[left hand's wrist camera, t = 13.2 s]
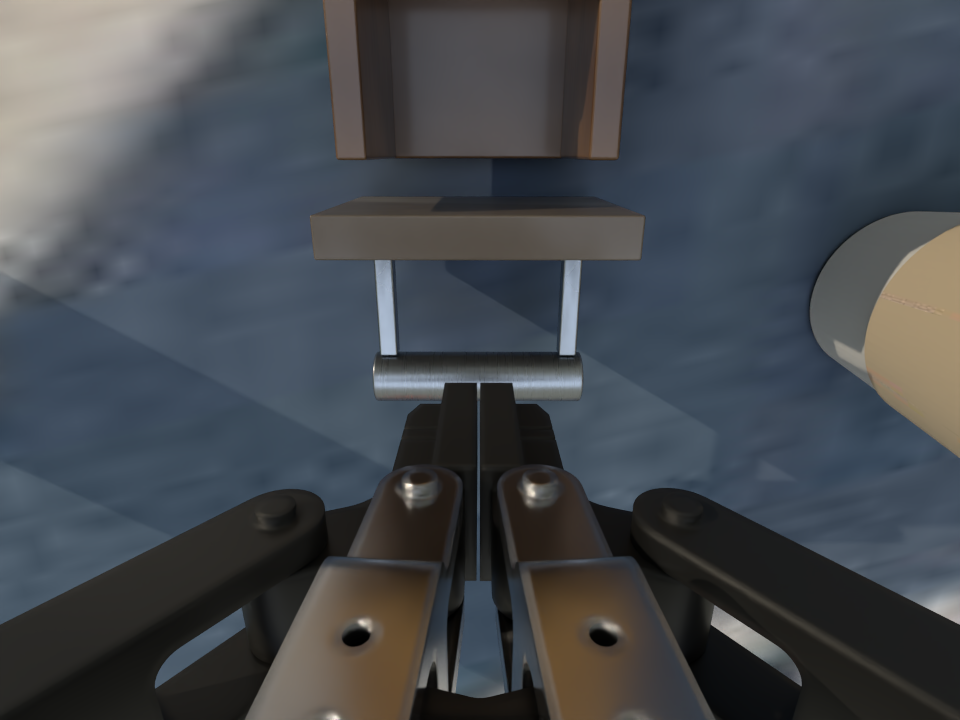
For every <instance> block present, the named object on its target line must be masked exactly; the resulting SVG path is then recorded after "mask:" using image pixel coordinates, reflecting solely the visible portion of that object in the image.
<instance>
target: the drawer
mask: <svg viewBox="0 0 960 720" xmlns="http://www.w3.org/2000/svg"><path fill="white" fill-rule="evenodd" d="M323 8H324V20H325V31H326V43H327V55H328V66H329V78H330V89H331V101H332V113H333V124H334V136H335V148H336V157H337V159H338V160H372V159H390V158H564V159H581V160H617V159H618V158H619V150H620V139H621V127H622V115H623V103H624V91H625V80H626V68H627V56H628V44H629V33H630V21H631V9H632V0H323ZM310 222H311V232H312V241H313V251H314V258H315V260H374V270H375V284H376V299H377V314H378V329H379V344H380V352H377V353H376V355H375V359H374V365H373V389H374V395H375V398H376V400H378V401H442V396H443V390H444V384H445V383H477V401H480V383H513V389H514V397H515V401H578V400H580V398H581V395H582V389H583V364H582V359H581V355H580V353H579V352H576V346H577V331H578V316H579V301H580V286H581V271H582V260H641V255H642V246H643V236H644V226H645V216H644V215H641V214H639V213H636V212H633V211H631V210H628V209H625V208H623V207H620V206H617V205H615V204H612V203H609V202H607V201H604V200H601V199H599V198H596V197H360V198H357V199H354V200H352V201H349V202H346V203H343V204H341V205H338V206H335V207H333V208H330V209H327V210H324V211H322V212H319V213H316V214H313V215H311V216H310ZM395 260H561V277H560V296H559V315H558V333H557V352H399V349H400V348H399V329H398V311H397V292H396V273H395Z"/></svg>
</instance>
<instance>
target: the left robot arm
mask: <svg viewBox="0 0 960 720" xmlns="http://www.w3.org/2000/svg"><path fill="white" fill-rule="evenodd" d="M476 560H477V383H445V384H444V390H443V396H442V403H441V404H420V405H419V406H418V407H416V408H415V409H414V410H413V411H412V412H410V413H409V414H408V416H407V420H406V424H405V429H404V431H403V435H402V440H401V442H400V445H399V449H398V453H397V456H396V460H395V463H394V467H393V471H392V472H391V473H389V474H388V475H386V476H385V477H384V478H383V479H382V480H381V481H380V483H379V485H378V487H377V489H376V491H375V494H374V496H373V498H371V499H369V500H367V501H365V502H362V503H360V504H357V505H353V506H349V507H345V508H340V509H335V510H330V511H325V506H324V503H323V501H322V500H321V498H320V497H319V496H317V495H316V494H314V493H312V492H309V491H305V490H299V489H284V490H277V491H272V492H268V493H265V494H262V495H259V496H257V497H254V498H252V499H250V500H248V501H246V502H244V503H242V504H240V505H238V506H236V507H234V508H232V509H230V510H228V511H226V512H224V513H222V514H220V515H218V516H216V517H214V518H212V519H210V520H208V521H206V522H204V523H202V524H200V525H198V526H196V527H194V528H192V529H190V530H188V531H186V532H184V533H182V534H180V535H178V536H176V537H174V538H172V539H170V540H168V541H166V542H164V543H162V544H160V545H158V546H156V547H154V548H152V549H150V550H148V551H146V552H144V553H142V554H140V555H138V556H136V557H134V558H132V559H130V560H128V561H126V562H124V563H122V564H121V565H119V566H117V567H115V568H113V569H111V570H109V571H107V572H105V573H103V574H101V575H99V576H97V577H95V578H93V579H91V580H89V581H87V582H85V583H83V584H81V585H79V586H77V587H75V588H73V589H71V590H69V591H67V592H65V593H63V594H61V595H59V596H57V597H55V598H53V599H51V600H49V601H47V602H45V603H43V604H41V605H39V606H37V607H35V608H33V609H31V610H29V611H27V612H25V613H23V614H21V615H19V616H17V617H15V618H13V619H11V620H9V621H7V622H5V623H3V624H1V625H0V720H960V625H959V624H957V623H955V622H953V621H951V620H949V619H947V618H945V617H943V616H941V615H939V614H937V613H935V612H933V611H931V610H929V609H927V608H925V607H923V606H921V605H919V604H917V603H915V602H913V601H911V600H909V599H907V598H905V597H903V596H901V595H899V594H897V593H895V592H893V591H891V590H889V589H887V588H885V587H883V586H881V585H879V584H877V583H875V582H873V581H871V580H869V579H867V578H865V577H863V576H861V575H859V574H857V573H855V572H853V571H851V570H849V569H847V568H845V567H843V566H841V565H839V564H837V563H835V562H834V561H832V560H830V559H828V558H826V557H824V556H822V555H820V554H818V553H816V552H814V551H812V550H810V549H808V548H806V547H804V546H802V545H800V544H798V543H796V542H794V541H792V540H790V539H788V538H786V537H784V536H782V535H780V534H778V533H776V532H774V531H772V530H770V529H768V528H766V527H764V526H762V525H760V524H758V523H756V522H754V521H752V520H750V519H748V518H746V517H744V516H742V515H740V514H738V513H736V512H734V511H732V510H730V509H728V508H726V507H724V506H722V505H720V504H718V503H716V502H714V501H712V500H710V499H708V498H706V497H704V496H701V495H699V494H696V493H693V492H690V491H686V490H682V489H675V488H658V489H652V490H649V491H646V492H644V493H642V494H641V495H639V496H638V497H637V498H636V500H635V502H634V505H633V512H630V511H625V510H620V509H615V508H610V507H606V506H602V505H599V504H596V503H593V502H591V501H589V500H588V498H587V496H586V494H585V491H584V489H583V487H582V485H581V483H580V481H579V480H578V479H577V478H576V477H575V476H574V475H572V474H571V473H569V472H567V471H565V470H564V469H563V466H562V462H561V458H560V454H559V450H558V447H557V443H556V440H555V435H554V432H553V430H552V424H551V420H550V417H549V414H548V413H546V412H545V411H544V410H543V409H542V408H541V407H539V406H538V405H537V404H515V397H514V389H513V383H480V581H492V598H493V601H494V603H495V605H496V627H497V635H498V643H499V651H500V658H501V666H502V674H503V682H504V690H505V693H504V694H500V695H496V696H492V697H487V698H473V697H468V696H464V695H460V694H456V693H455V690H456V682H457V674H458V666H459V658H460V651H461V643H462V635H463V627H464V585H465V581H476ZM714 605H716V606H717V607H719V608H720V609H722V610H723V611H725V612H726V613H728V614H730V615H731V616H733V617H734V618H736V619H737V620H739V621H740V622H742V623H743V624H745V625H746V626H748V627H750V628H751V629H753V630H754V631H756V632H757V633H759V634H760V635H762V636H763V637H765V638H766V639H768V640H770V641H771V642H773V643H774V644H776V645H777V646H778V647H780V648H781V649H782V650H783V651H785V652H786V653H787V654H788V655H789V657H790V658H791V659H792V660H793V662H794V663H795V665H796V666H797V668H798V670H799V672H800V675H801V679H802V687H801V686H800V685H798V684H797V683H795V682H794V681H792V680H791V679H789V678H788V677H786V676H785V675H783V674H782V673H781V672H779V671H778V670H776V669H775V668H773V667H772V666H770V665H769V664H767V663H766V662H764V661H763V660H762V659H760V658H759V657H757V656H756V655H754V654H753V653H751V652H750V651H748V650H747V649H745V648H744V647H743V646H741V645H740V644H738V643H737V642H735V641H734V640H732V639H731V638H729V637H728V636H726V635H725V634H723V633H722V632H721V631H719V630H718V629H716V628H715V627H713V626H712V625H711V620H712V615H713V609H714ZM241 607H242V611H243V616H244V621H245V626H246V627H245V628H244V629H242V630H241V631H239V632H238V633H236V634H235V635H234V636H232V637H231V638H229V639H228V640H226V641H225V642H223V643H222V644H220V645H219V646H217V647H216V648H215V649H213V650H212V651H210V652H209V653H207V654H206V655H204V656H203V657H201V658H200V659H198V660H197V661H196V662H194V663H193V664H191V665H190V666H188V667H187V668H185V669H184V670H182V671H181V672H179V673H178V674H176V675H175V676H174V677H172V678H171V679H169V680H168V681H166V682H165V683H163V684H162V685H160V686H159V687H157V688H156V689H155V680H156V676H157V674H158V671H159V670H160V668H161V666H162V665H163V663H164V662H165V661H166V659H167V658H168V657H169V656H170V655H171V654H172V653H173V652H175V651H176V650H177V649H178V648H180V647H181V646H183V645H184V644H186V643H187V642H189V641H190V640H192V639H194V638H195V637H197V636H198V635H200V634H201V633H203V632H204V631H206V630H207V629H209V628H210V627H212V626H214V625H215V624H217V623H218V622H220V621H221V620H223V619H224V618H226V617H227V616H229V615H230V614H232V613H233V612H235V611H237V610H238V609H240V608H241Z"/></svg>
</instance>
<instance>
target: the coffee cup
mask: <svg viewBox="0 0 960 720" xmlns="http://www.w3.org/2000/svg"><path fill="white" fill-rule="evenodd" d="M810 321H811V327H812V330H813V333H814V336H815V338H816V340H817V342H818V344H819V345H820V347H821V348H822V349H823V350H824V351H825V352H826V353H827V354H828V355H829V356H830V357H831V358H833V359H834V360H835V361H837V362H838V363H839V364H841V365H842V366H844V367H845V368H846V369H848V370H849V371H850V372H852V373H853V374H854V375H856V376H857V377H859V378H860V379H861V380H863V381H864V382H865V383H867V384H868V385H869V386H871V387H872V388H874V389H875V390H876V391H877V393H878V394H879V395H880V397H881V398H882V399H883V400H884V401H885V402H886V403H887V404H889V405H890V406H891V407H892V408H894V409H895V410H896V411H898V412H899V413H900V414H902V415H903V416H904V417H906V418H907V419H908V420H910V421H911V422H912V423H914V424H915V425H916V426H918V427H919V428H920V429H922V430H923V431H924V432H926V433H927V434H928V435H930V436H931V437H932V438H934V439H935V440H936V441H938V442H939V443H940V444H942V445H943V446H944V447H946V448H947V449H948V450H950V451H951V452H952V453H954V454H955V455H956V456H958V457H959V458H960V213H959V212H923V211H914V212H904V213H899V214H895V215H891V216H888V217H885V218H883V219H880V220H878V221H876V222H873V223H871V224H870V225H868V226H866V227H864V228H863V229H861V230H860V231H858V232H857V233H855V234H854V235H853V236H851V237H850V238H849V239H848V240H847V241H845V242H844V243H843V244H842V245H841V246H840V247H839V248H838V249H837V250H836V252H835V253H834V254H833V255H832V256H831V258H830V259H829V260H828V262H827V263H826V265H825V266H824V268H823V270H822V271H821V273H820V275H819V277H818V279H817V282H816V284H815V287H814V290H813V293H812V298H811V304H810Z"/></svg>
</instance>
